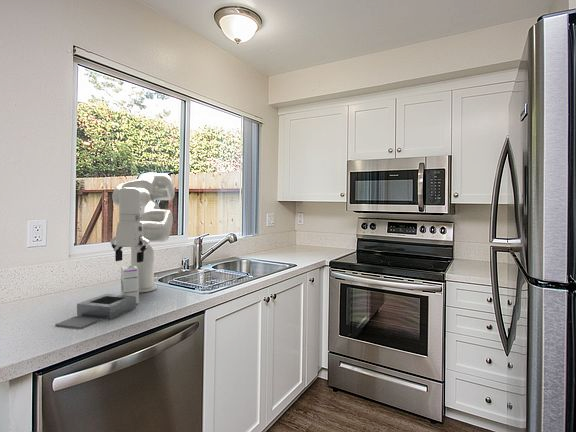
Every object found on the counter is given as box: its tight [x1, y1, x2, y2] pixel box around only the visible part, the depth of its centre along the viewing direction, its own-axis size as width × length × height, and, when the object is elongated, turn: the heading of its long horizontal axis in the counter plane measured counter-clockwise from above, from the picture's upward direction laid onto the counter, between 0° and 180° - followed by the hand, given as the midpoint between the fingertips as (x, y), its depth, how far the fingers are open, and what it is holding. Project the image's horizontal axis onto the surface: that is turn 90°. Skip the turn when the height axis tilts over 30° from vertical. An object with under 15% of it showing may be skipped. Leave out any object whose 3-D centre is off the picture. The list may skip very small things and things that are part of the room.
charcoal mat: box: [54, 315, 101, 330], centre depth 112 cm, size 8×10×1 cm
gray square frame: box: [76, 293, 137, 321], centre depth 123 cm, size 14×14×4 cm
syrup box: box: [120, 265, 140, 305], centre depth 134 cm, size 6×6×14 cm
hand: (129, 261), depth 134 cm, fingers open, 9 cm apart
